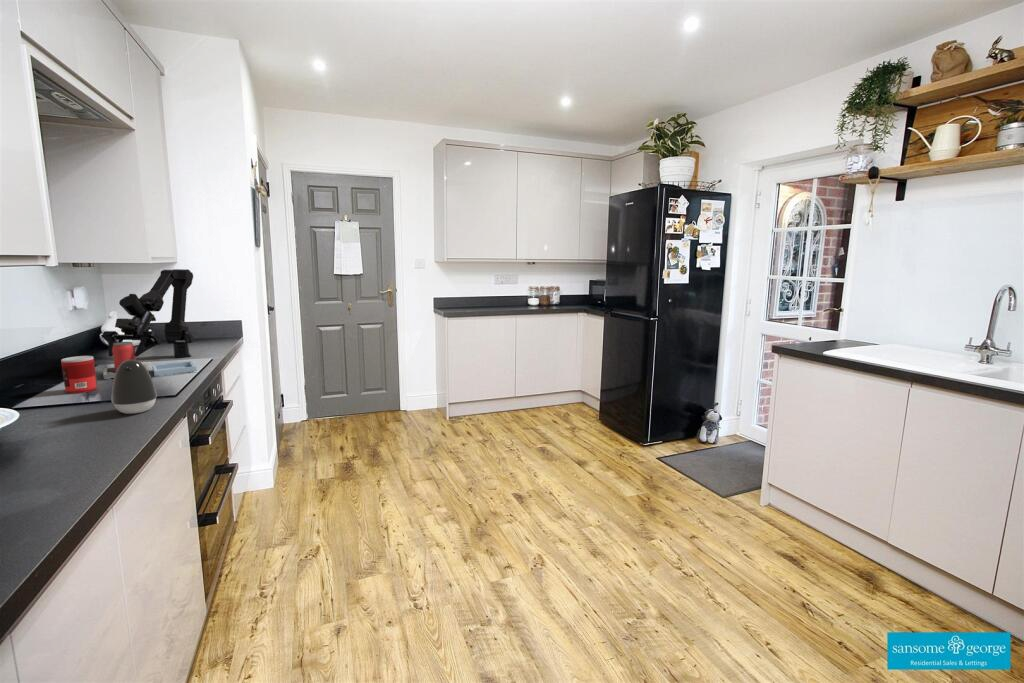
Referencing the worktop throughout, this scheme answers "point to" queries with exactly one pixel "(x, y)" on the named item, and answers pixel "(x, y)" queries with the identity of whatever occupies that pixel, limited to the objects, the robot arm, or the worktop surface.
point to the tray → (173, 368)
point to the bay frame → (112, 375)
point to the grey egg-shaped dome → (133, 388)
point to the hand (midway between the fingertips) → (122, 356)
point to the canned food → (79, 374)
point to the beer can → (123, 353)
